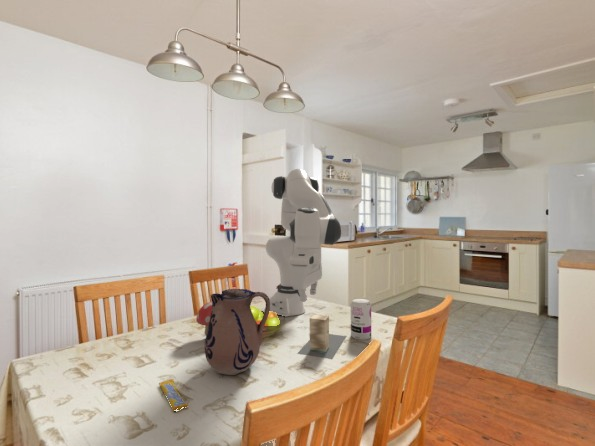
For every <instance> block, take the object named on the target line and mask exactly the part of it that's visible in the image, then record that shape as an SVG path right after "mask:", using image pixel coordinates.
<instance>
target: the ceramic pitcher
mask: <svg viewBox="0 0 595 446" xmlns="http://www.w3.org/2000/svg"><path fill="white" fill-rule="evenodd" d="M256 297H260V298H262V300H264V302H265V306H266V307H265V306H264V307H265V313H263V316H262V317H261V320H260V322H259V323H258V322H257V321H256V319H255V316H254V314H253V312H252V309H251V305H252V301H253V300H254V298H256ZM269 298H270V297H269V295H267V293H265V292H263V291H262V292H261V291H251V290H250V289H246V288H245V289H243V288H230V289H225V290H222V291H221V293H212V294H210V299H211V300H210V301H211V302H212V313H211V317H210V322H209V326H208V330H207V335H205V342H204V355H205V358H206V361H207V363H208V365H209V367H211V368H212V369H213V370H214V371H215V372H217V373H218V374H221V375H225V376H234V375H235V376H236V375H238V374H241V373H243V372H245V371H248V370H249V368H250V367H251V366H253V364H254V363H255V362H256V360H257V358H258V356H259V353H260V349H261V345H262V343H263V339H264V338H263V337H264V336H263V332H264V331H263V330H264V328H265V325H266V323H267V320H268V318H269V315H270V314H269V311H270V300H269Z"/></svg>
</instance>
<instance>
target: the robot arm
mask: <svg viewBox="0 0 595 446" xmlns="http://www.w3.org/2000/svg"><path fill="white" fill-rule="evenodd" d="M319 191H320V185H319V181H318V179H317V178H315V177H311V176H309V175H308V173H307V172H306V171H305V170H303V169H301V168H293V169H292V170H291V171H289V173H288V174H287V176H283V175H281V176H277V177H275V178H274V179H273V181H272V182H271V193H272V195H273V197H274V198H275V199H279V200H281V212H280V213H281V214H280V217H281V218H280V220H281V221H280V223H281V227H283V229H284V230H287V231H288V232H289V236H277V237H271V238H269V239H268V240H267V242H266V243H265V251H266V253H267V256H268V257H269V258H271V259H272V260H273V261H274V262H276V263H275V264H277V266H278V269H279V276H280V277H279V280H280V283H279V284H278V285H277V286H276V288H275V289H277V291H276V292H274V293H273V294H272V295H271V296H270V297H269V300H270V311H273V312H276V313H277V314H278V315H283V316H285V317H292V316H300V315H302V314H305V313H306V308H305V305H304V303H305V302H306V301H307V300H308V299H307V298H308V296H307V292H306V291H307V288H308V287H310V289H309V294H310V295H312V296H314V295H316V294H317V287H318V281H320V280H321V279H322V278H323V267H322V245H326V246H327V245H328V246H329V245H330V246H334V245H335V244H336V243H337V242H338V241H339V240H340V239H341V236H342V227H341V224H340V221H339V220H338V218H336V216H335V215H334V213H333V212H332V209H331V207H330V206H329V203H328V201H327V200H326V198H325V197H324V195H323V193H321V192H319ZM265 307H266V305H265V306H264V307H263V308H262V310H261V312H262V311H263V312H264V313H265ZM263 312H262V313H263ZM264 313H263V314H264ZM278 315H277V316H278ZM283 316H282V317H283ZM285 317H284V318H285Z"/></svg>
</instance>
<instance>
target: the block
mask: <svg viewBox="0 0 595 446" xmlns="http://www.w3.org/2000/svg"><path fill="white" fill-rule="evenodd" d="M329 318H330V317H329V316H327V315H319V314H313V315H311V317H309V340H310V351H315V352H321V353H326V352H327V350H328V349H329V334H330V319H329Z"/></svg>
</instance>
